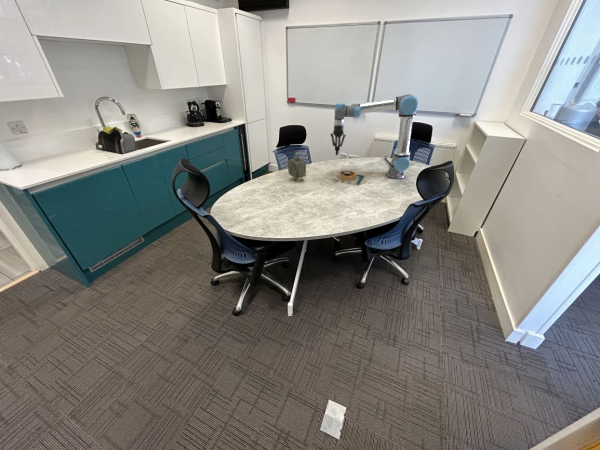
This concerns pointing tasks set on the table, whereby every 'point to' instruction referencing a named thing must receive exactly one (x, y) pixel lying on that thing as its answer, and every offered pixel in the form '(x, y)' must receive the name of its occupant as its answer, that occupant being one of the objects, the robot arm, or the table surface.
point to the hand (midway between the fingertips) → (336, 154)
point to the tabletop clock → (297, 167)
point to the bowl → (347, 178)
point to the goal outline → (359, 179)
